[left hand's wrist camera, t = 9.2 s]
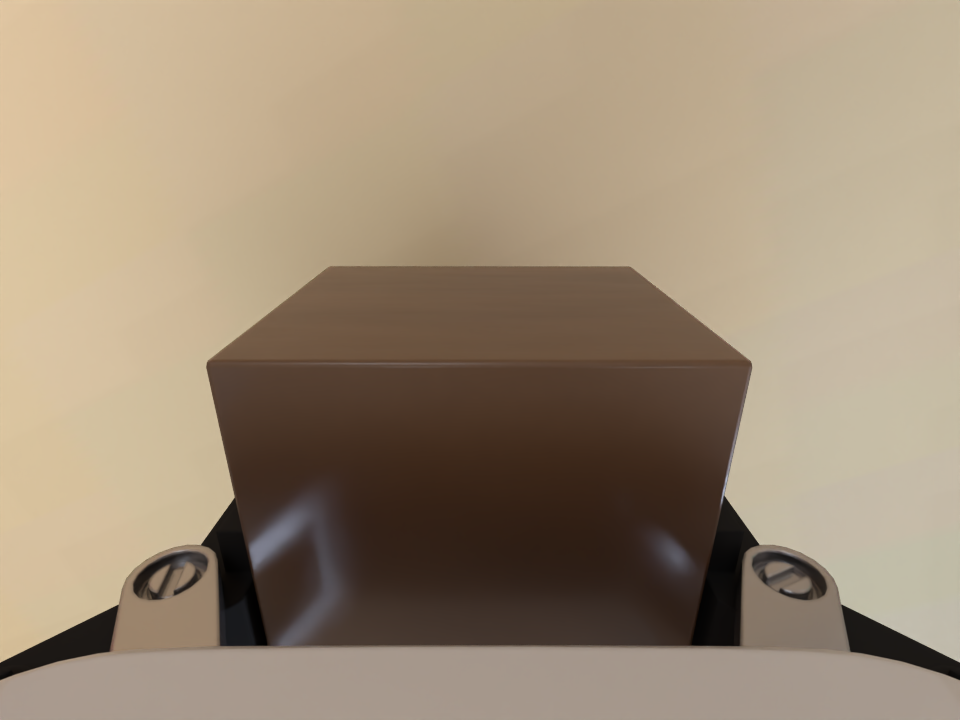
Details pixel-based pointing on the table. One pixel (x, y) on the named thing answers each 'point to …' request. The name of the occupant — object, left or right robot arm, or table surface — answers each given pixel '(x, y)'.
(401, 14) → the table surface
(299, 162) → the table surface
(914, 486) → the table surface
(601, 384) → the beam
